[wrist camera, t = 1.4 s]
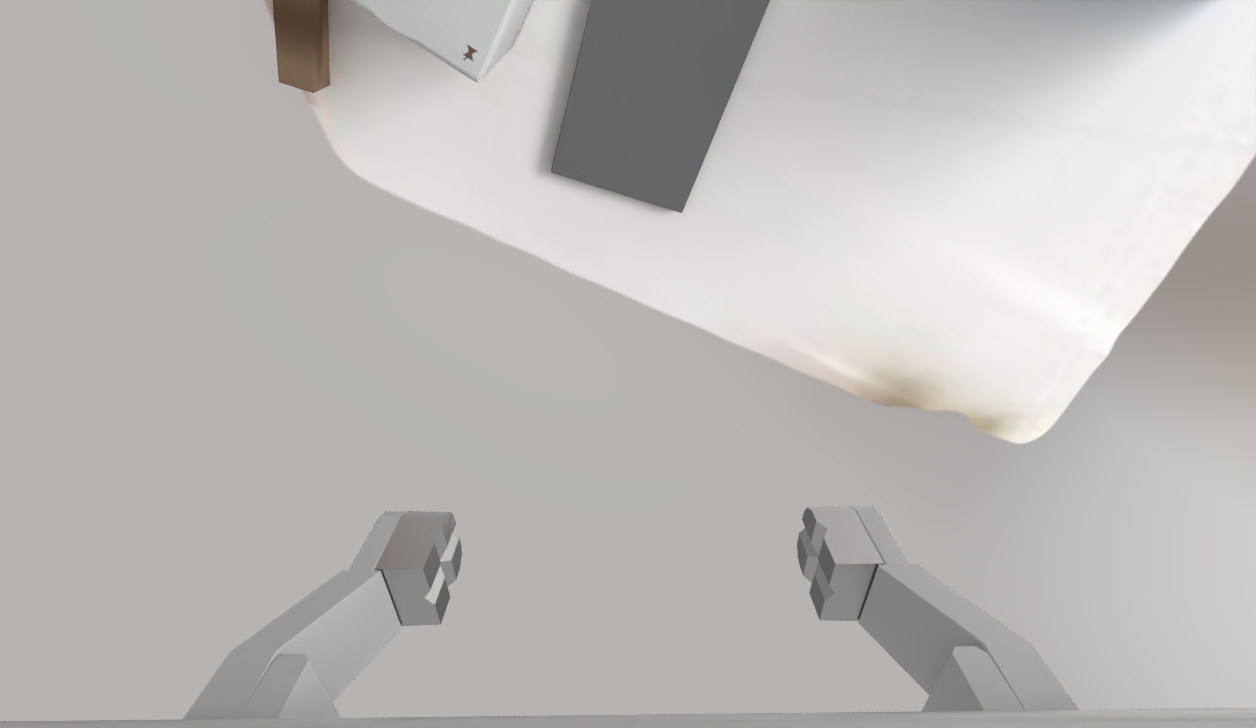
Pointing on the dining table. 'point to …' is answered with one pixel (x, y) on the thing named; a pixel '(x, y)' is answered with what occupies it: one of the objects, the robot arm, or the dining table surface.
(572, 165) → the tool mat
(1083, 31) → the dining table surface
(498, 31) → the supplement box
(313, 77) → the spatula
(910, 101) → the dining table surface
